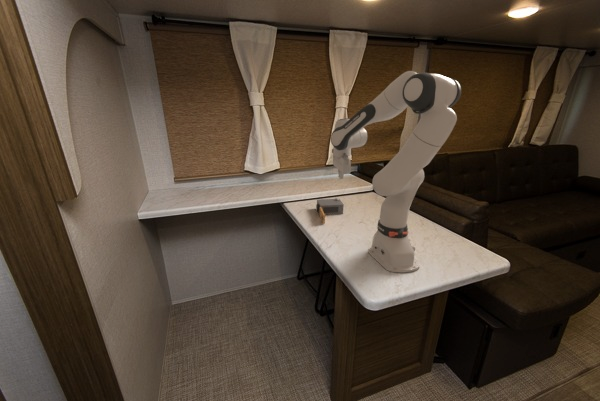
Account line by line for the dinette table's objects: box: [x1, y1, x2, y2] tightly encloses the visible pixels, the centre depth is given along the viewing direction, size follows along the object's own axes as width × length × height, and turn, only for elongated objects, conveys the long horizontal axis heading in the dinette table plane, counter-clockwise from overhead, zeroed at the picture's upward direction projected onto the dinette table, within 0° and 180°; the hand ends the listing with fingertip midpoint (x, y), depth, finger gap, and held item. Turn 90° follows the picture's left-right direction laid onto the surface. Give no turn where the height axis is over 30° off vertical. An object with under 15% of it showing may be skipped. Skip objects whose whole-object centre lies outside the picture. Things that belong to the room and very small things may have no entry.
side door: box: [318, 207, 326, 225], centre depth 144 cm, size 2×12×5 cm, turn 6°
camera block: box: [315, 197, 345, 216], centre depth 155 cm, size 10×15×7 cm, turn 97°
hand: (340, 178), depth 135 cm, fingers closed
